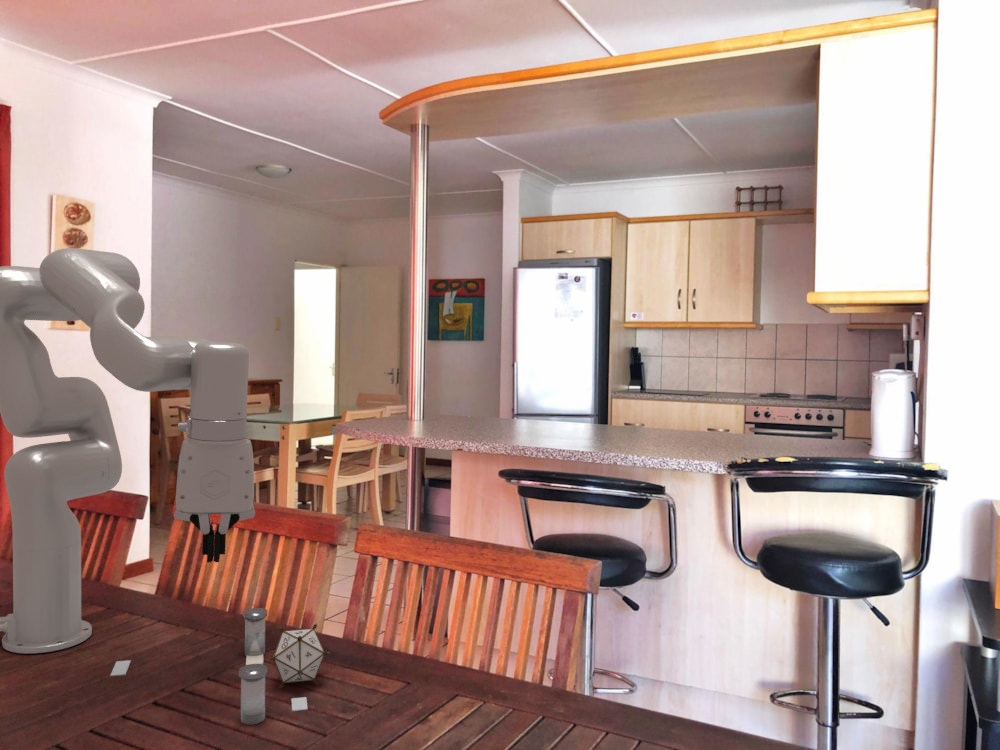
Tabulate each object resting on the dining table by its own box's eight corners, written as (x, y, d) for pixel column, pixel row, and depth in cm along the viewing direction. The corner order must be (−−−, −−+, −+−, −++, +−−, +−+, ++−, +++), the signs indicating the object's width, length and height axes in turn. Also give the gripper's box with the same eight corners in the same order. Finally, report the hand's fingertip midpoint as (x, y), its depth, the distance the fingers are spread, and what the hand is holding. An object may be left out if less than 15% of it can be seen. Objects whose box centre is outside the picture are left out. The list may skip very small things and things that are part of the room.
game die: (304, 712, 115) (307, 675, 109) (254, 685, 117) (254, 647, 111) (338, 662, 122) (343, 625, 116) (290, 637, 124) (292, 599, 117)
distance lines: (85, 732, 101) (85, 731, 101) (116, 662, 122) (116, 661, 122) (307, 709, 108) (307, 708, 108) (300, 647, 129) (300, 646, 129)
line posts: (237, 727, 103) (238, 676, 103) (243, 649, 128) (243, 608, 127) (267, 723, 104) (267, 673, 104) (266, 647, 129) (267, 607, 128)
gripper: (156, 433, 107) (152, 569, 108) (274, 435, 111) (268, 566, 112) (163, 425, 114) (159, 553, 115) (273, 427, 118) (268, 550, 120)
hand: (213, 559), depth 114 cm, fingers closed
